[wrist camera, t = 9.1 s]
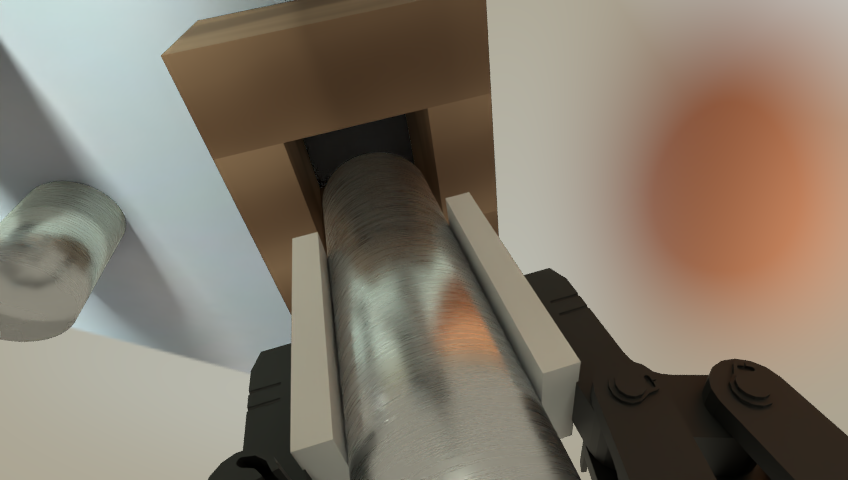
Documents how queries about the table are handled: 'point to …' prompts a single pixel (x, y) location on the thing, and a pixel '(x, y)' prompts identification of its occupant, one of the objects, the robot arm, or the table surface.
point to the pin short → (54, 257)
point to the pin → (423, 342)
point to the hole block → (336, 102)
